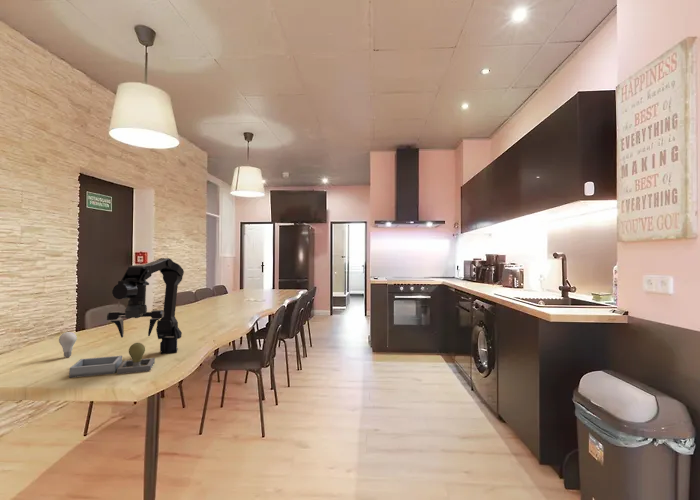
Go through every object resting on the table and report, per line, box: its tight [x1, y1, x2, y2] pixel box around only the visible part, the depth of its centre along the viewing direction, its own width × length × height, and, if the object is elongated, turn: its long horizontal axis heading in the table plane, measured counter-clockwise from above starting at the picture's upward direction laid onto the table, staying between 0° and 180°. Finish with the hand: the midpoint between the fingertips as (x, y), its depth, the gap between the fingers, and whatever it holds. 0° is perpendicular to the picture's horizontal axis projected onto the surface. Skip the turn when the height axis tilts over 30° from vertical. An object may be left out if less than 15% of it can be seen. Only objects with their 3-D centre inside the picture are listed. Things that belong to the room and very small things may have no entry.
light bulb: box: [128, 342, 146, 367], centre depth 139 cm, size 6×6×10 cm
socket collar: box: [116, 357, 156, 375], centre depth 139 cm, size 11×11×2 cm
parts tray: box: [68, 355, 123, 379], centre depth 135 cm, size 14×12×4 cm
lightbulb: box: [58, 331, 78, 358], centre depth 152 cm, size 6×6×11 cm
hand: (135, 336), depth 139 cm, fingers open, 9 cm apart
